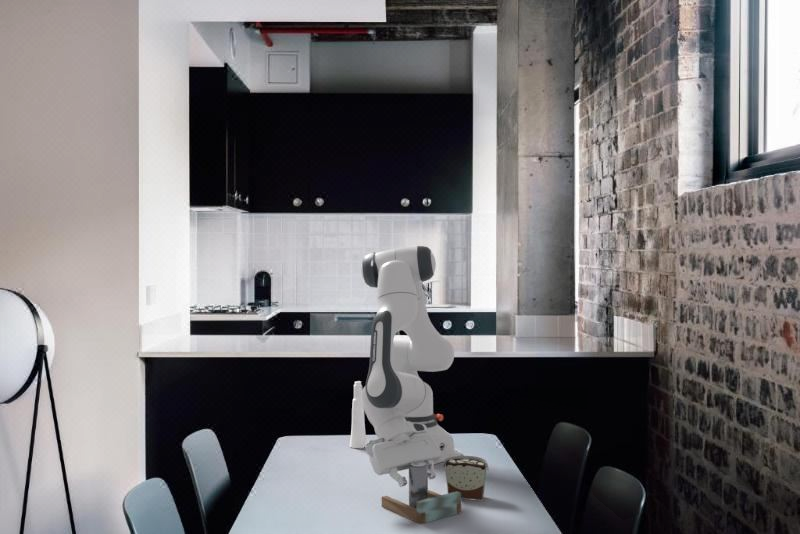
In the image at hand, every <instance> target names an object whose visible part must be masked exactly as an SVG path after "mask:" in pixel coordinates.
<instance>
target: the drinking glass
mask: <svg viewBox="0 0 800 534" xmlns="http://www.w3.org/2000/svg"><path fill="white" fill-rule="evenodd" d="M428 487H429V479H428V465H427V464H426V462H424V461H413V462H411V463H410V464H409V469H408V505H409V506H412V507H414V508H417V501H421V500H425V499H428V490H429V489H428Z"/></svg>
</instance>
